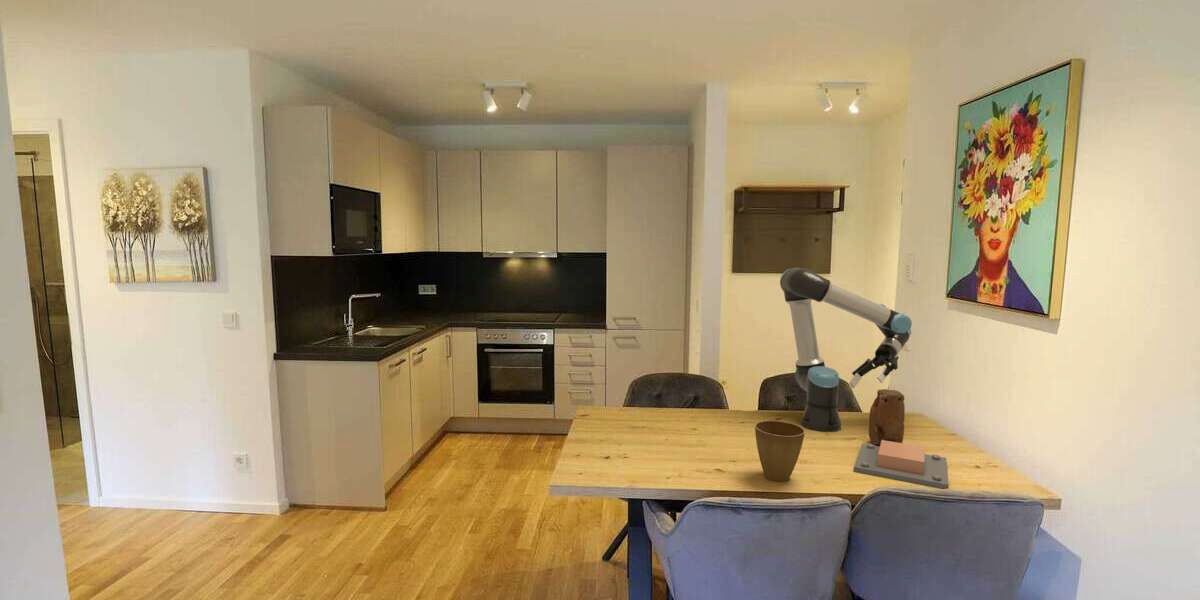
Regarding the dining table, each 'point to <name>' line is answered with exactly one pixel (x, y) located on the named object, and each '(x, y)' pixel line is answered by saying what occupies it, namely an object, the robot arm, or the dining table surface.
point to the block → (887, 417)
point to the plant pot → (778, 448)
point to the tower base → (903, 474)
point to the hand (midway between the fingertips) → (865, 382)
